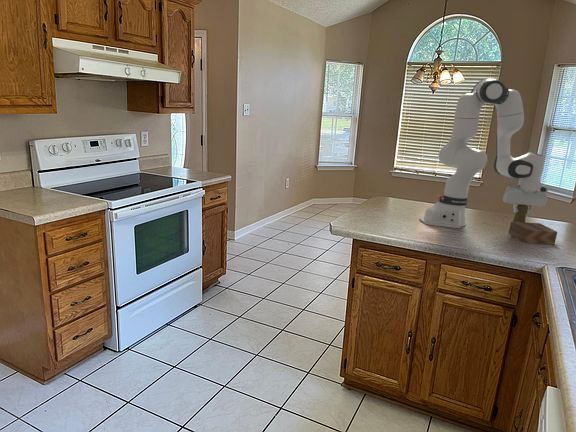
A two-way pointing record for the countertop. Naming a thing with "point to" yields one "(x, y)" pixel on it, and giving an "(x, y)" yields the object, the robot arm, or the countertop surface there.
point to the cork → (520, 213)
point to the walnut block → (532, 232)
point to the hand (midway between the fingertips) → (521, 213)
